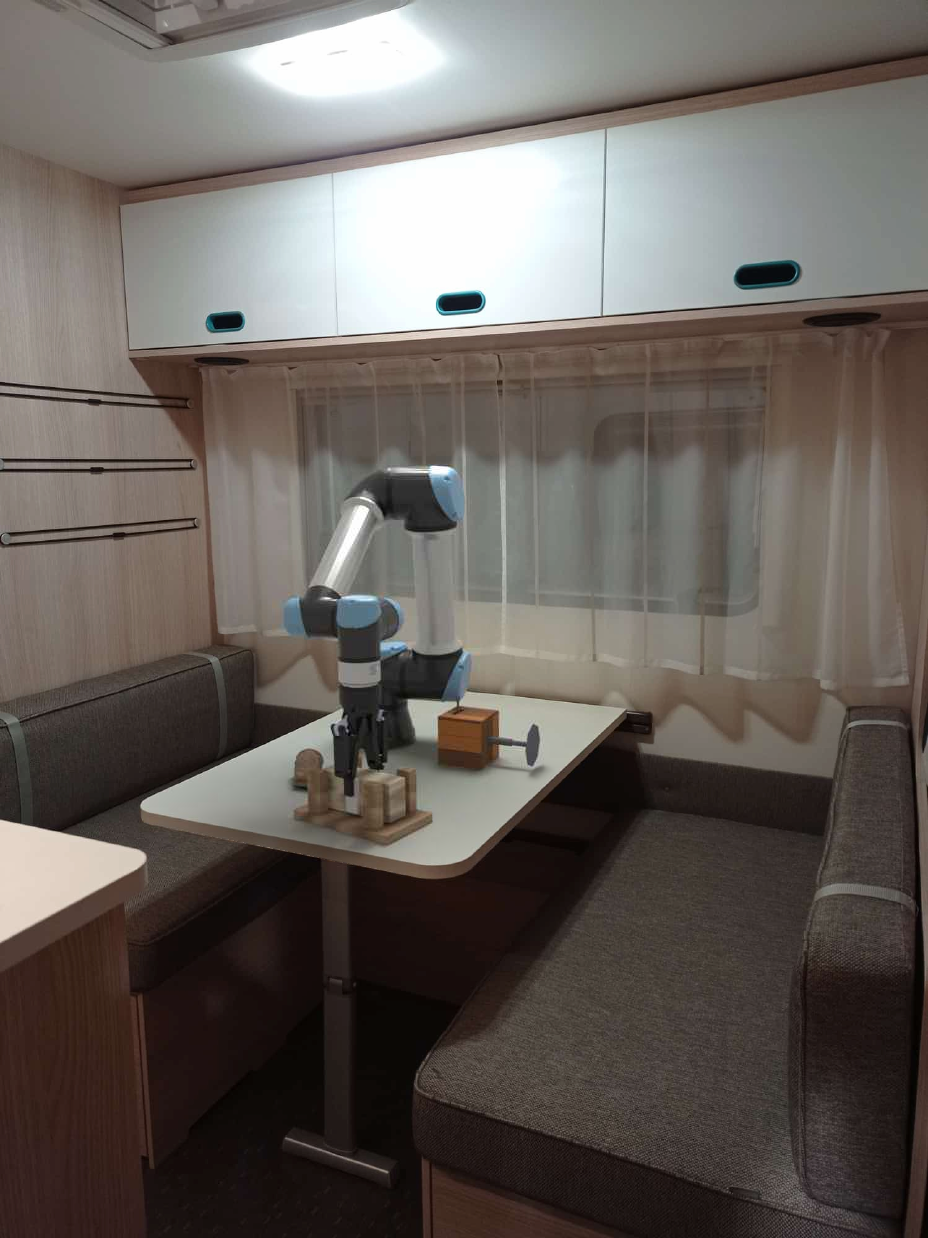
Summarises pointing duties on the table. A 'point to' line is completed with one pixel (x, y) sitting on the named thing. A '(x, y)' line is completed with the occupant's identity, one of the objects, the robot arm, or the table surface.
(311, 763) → the pipe
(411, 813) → the wooden block assembly
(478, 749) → the wooden box with plunger
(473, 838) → the table surface
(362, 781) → the cream wooden block
